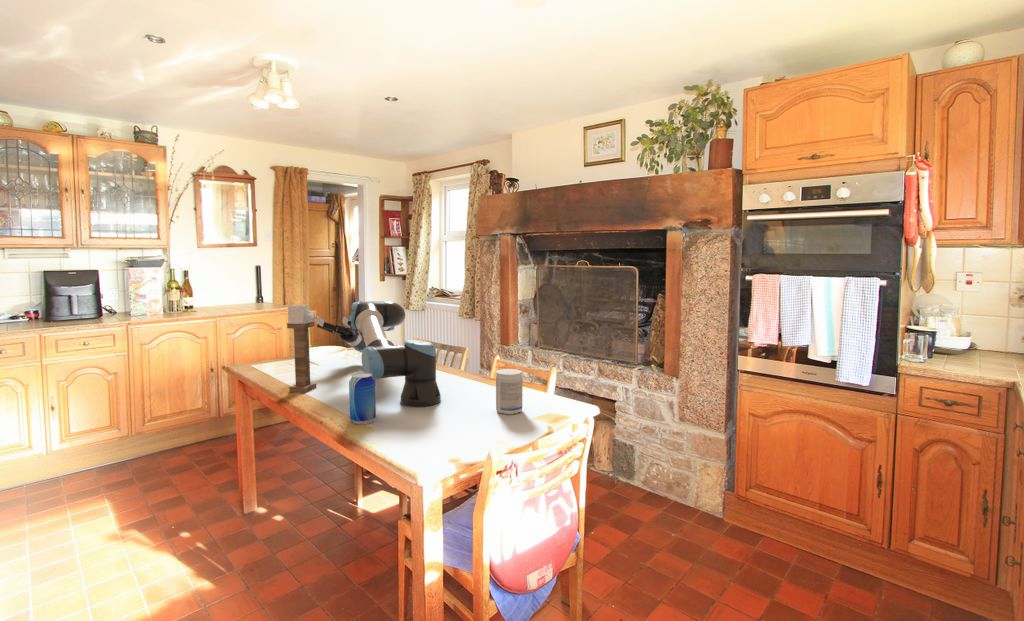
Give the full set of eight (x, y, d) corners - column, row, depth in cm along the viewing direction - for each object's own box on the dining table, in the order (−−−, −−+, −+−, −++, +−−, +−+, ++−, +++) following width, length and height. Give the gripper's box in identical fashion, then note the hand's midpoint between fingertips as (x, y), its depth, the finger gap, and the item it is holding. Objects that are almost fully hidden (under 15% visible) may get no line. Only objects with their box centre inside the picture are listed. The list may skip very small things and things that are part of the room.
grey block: (303, 323, 203) (302, 306, 202) (288, 323, 203) (287, 305, 203) (320, 318, 219) (319, 302, 218) (306, 318, 219) (305, 302, 218)
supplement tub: (527, 411, 186) (528, 371, 184) (508, 417, 179) (509, 376, 178) (509, 405, 193) (509, 367, 191) (490, 410, 186) (490, 371, 185)
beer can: (366, 415, 179) (365, 370, 177) (380, 420, 174) (380, 374, 172) (344, 421, 173) (343, 374, 171) (359, 427, 167) (358, 379, 166)
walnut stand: (305, 393, 206) (302, 324, 203) (289, 391, 207) (287, 323, 204) (316, 387, 214) (314, 321, 210) (301, 386, 215) (298, 320, 212)
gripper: (373, 344, 244) (353, 327, 225) (325, 341, 248) (302, 325, 229) (376, 329, 247) (357, 312, 228) (328, 327, 251) (306, 310, 232)
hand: (329, 318), depth 228 cm, fingers open, 13 cm apart
